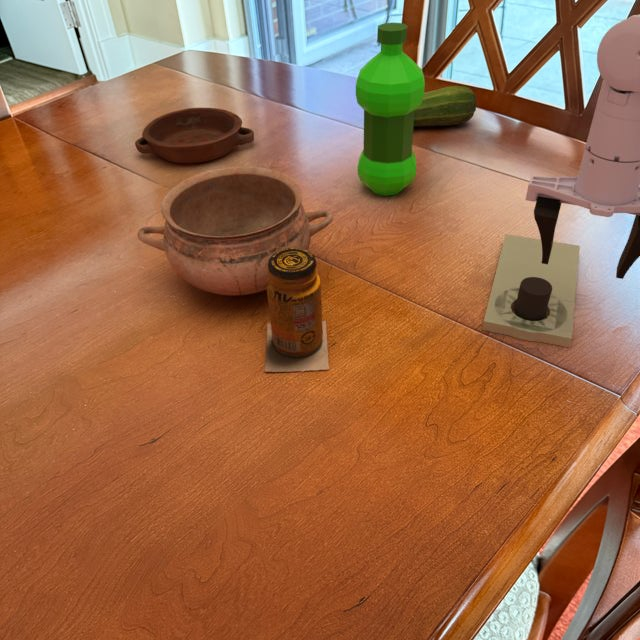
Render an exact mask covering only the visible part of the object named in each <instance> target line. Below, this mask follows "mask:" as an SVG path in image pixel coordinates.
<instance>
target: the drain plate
mask: <svg viewBox="0 0 640 640" xmlns="http://www.w3.org/2000/svg"><path fill="white" fill-rule="evenodd" d="M580 249H581V246H580V245H579V244H572V243H566V242H559V241H553V245H552V250H551V254H550V258H549V262H548V265H547V264H542V263H541V262H542V243H541V238H540V239H539V238H533V237H527V236H519V235H515V234H508V233H505V234H504V239H503V243H502V246H501V249H500V255H499V258H498V262H497V266H496V270H495V274H494V278H493V282H492V287H491V290H490V293H489V297H488V302H487V305H486V310H485V314H484V318H483V322H482V327H481V331H485V332H489V333H494V334H500V335H505V336H510V337H513V338H515V339H517V340H521V341H526V342H532V343H533V342H538V343H544V344H549V345H554V346H558V347H564V348H570V346H571V343H572V341H573V332H574V319H575V309H576V308H575V306H576V296H577V284H578V271H579V258H580ZM528 277H538V278H542V279H545V280H546V281H548V282H549V283H550V284H551V285H552V292H551V296H550V300H549V303H548V307H547V311H546V314H545V317H546V318H544V320H541V321H528V320H524V319H522V318H520V317H518V316H517V315H515V314H514V311H513V310H515V306H516V301H517V297H518V292H519V288H520V284H521V281H522V280H523V279H525V278H528Z"/></svg>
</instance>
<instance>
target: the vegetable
mask: <svg viewBox="0 0 640 640" xmlns="http://www.w3.org/2000/svg"><path fill="white" fill-rule="evenodd" d="M476 96H477V95H476V94H475V93H474V91H473V90H472V89H471V88H470V87H467V86H462V85H450V86H446V87H443V88H438V89H435V90H431V91H430V90H429V91H427V92H424V97H423V101H422V104H421V105H420V106H419V107H418V108H417V109H416V110H414V125H413V128H423V127H425V128H426V127H427V128H431V127H450V126H457V125H460V124H465V123H467V122H468V121H471V119H472V118H473V117H474V115H475V112H476V110H477V102H478V101H477V97H476Z"/></svg>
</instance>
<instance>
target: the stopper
mask: <svg viewBox="0 0 640 640" xmlns="http://www.w3.org/2000/svg"><path fill="white" fill-rule="evenodd" d="M551 292H552V285H551V284H550V283H549V282H548V281H546V280H545V279H542V278H538V277H528V278H525V279H523V280H522V281H521V284H520V288H519V292H518V297H517V301H516V306H515V308H514V309H513V313H514V314H515V315H517V316H518V317H520V318H522V319H524V320H528V321H541V320H544V319H546V318H545V317H546V315H545V314H546V311H547V307H548V303H549V300H550V296H551Z"/></svg>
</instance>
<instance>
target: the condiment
mask: <svg viewBox="0 0 640 640" xmlns="http://www.w3.org/2000/svg"><path fill="white" fill-rule="evenodd" d="M268 269H269V272H268V275H269V278H268V280H267V289H266V294H267V302H268V313H269V321H270V323H269V322H268V323H266V342H265V343H266V344H265V345H266V346H265V359H264V360H265V363H264V372H267V373H268V372H272V373H283V372H287V373H288V372H289V373H291V372H301V373H304V372H307V371H308V372H309V371H325V370H330V365H329V349H328V348H329V347H328V334H327V333H328V332H327V320H323V308H322V307H323V304H322V283H321V277H320V276H319V274H318V268H317V260H316V257H315V255H314V254H313V253H312V252H311V251H309V250H308V251H307V250H305V249H301V248H286V249H283V250H279V251H278V252H276V253H274V254H273V255H272V256H271V257H270V259H269V261H268Z"/></svg>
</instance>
